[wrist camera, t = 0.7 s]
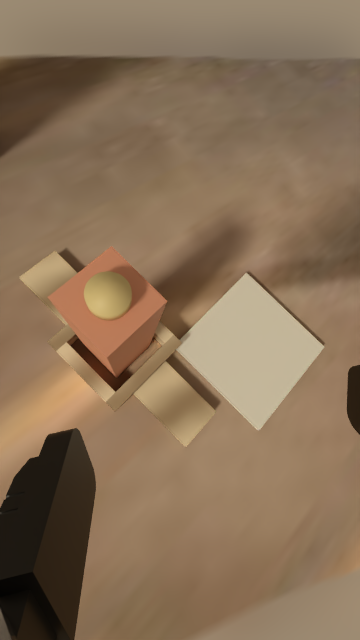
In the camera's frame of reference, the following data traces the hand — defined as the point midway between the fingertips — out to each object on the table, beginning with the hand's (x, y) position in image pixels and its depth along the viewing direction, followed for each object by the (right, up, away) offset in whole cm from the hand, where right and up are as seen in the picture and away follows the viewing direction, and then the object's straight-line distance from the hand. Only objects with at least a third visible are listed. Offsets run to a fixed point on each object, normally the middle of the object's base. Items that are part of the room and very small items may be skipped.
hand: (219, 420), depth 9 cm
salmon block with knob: (-7, 0, +22) cm, 23 cm away
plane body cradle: (-7, 0, +22) cm, 23 cm away
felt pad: (+6, 0, +24) cm, 25 cm away
